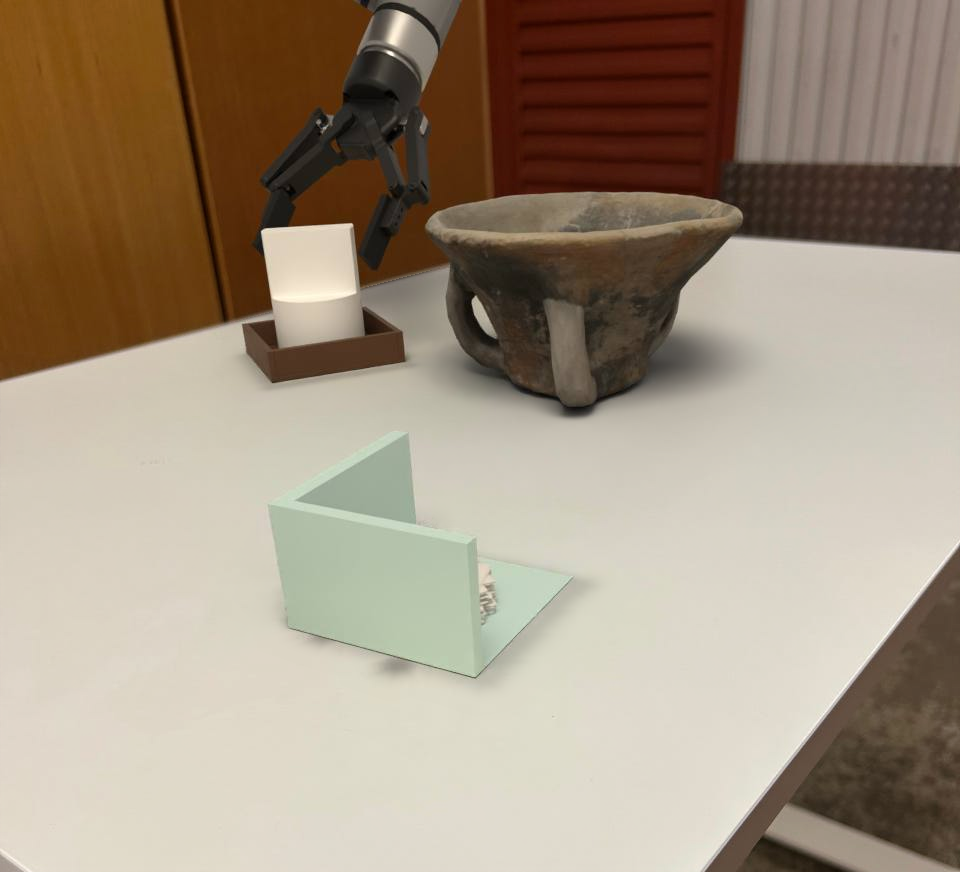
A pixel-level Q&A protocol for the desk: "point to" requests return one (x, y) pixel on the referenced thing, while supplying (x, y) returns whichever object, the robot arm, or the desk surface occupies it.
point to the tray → (324, 350)
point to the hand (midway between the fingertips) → (313, 258)
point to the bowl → (575, 282)
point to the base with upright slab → (313, 283)
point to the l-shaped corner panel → (395, 568)
